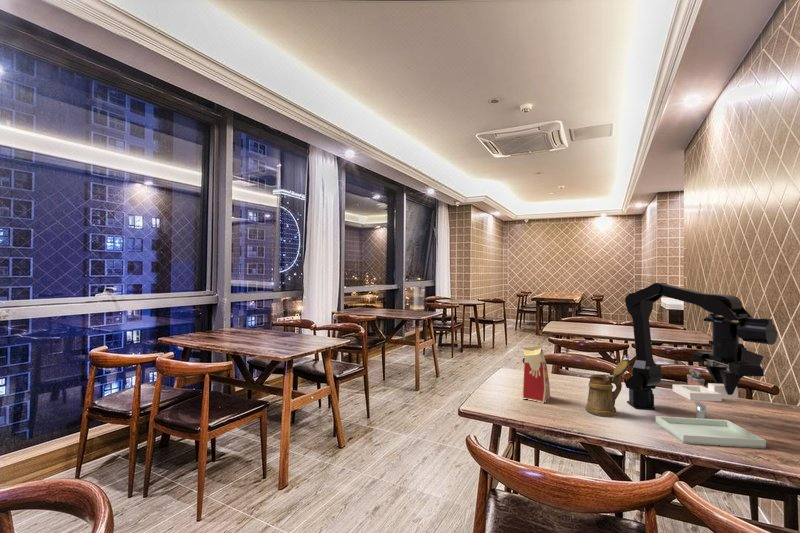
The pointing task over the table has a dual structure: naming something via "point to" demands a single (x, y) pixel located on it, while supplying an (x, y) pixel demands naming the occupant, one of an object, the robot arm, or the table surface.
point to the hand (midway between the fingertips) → (726, 393)
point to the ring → (704, 392)
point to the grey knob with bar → (700, 410)
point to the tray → (709, 432)
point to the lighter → (695, 378)
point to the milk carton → (535, 375)
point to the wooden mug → (605, 392)
